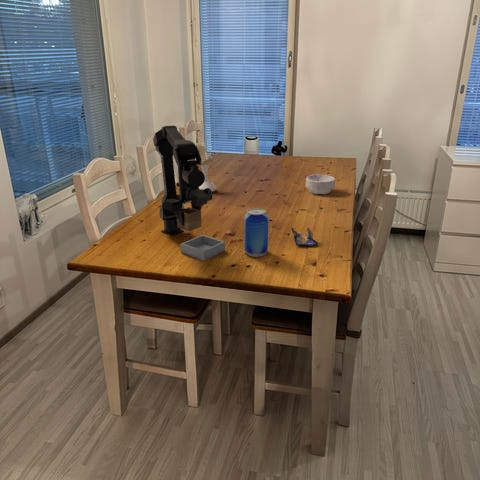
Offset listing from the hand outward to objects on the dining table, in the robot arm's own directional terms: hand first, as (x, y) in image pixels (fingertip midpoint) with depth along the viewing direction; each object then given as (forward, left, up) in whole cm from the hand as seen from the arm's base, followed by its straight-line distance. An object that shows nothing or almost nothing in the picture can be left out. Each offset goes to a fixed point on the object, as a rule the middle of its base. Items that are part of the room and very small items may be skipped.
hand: (189, 223), depth 154 cm
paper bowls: (-2, +99, -12) cm, 99 cm away
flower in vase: (-52, +63, -12) cm, 83 cm away
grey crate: (+3, +4, -12) cm, 12 cm away
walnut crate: (0, 0, -1) cm, 1 cm away
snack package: (+27, +35, -12) cm, 45 cm away
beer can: (+19, +15, -12) cm, 26 cm away
